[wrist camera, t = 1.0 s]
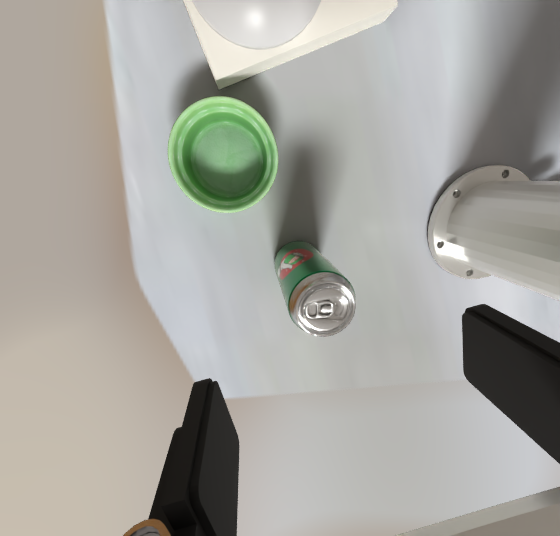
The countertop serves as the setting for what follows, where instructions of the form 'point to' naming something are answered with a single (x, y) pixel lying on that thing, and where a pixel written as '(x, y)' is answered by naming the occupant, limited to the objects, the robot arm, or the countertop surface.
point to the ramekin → (223, 154)
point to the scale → (274, 30)
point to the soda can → (314, 290)
